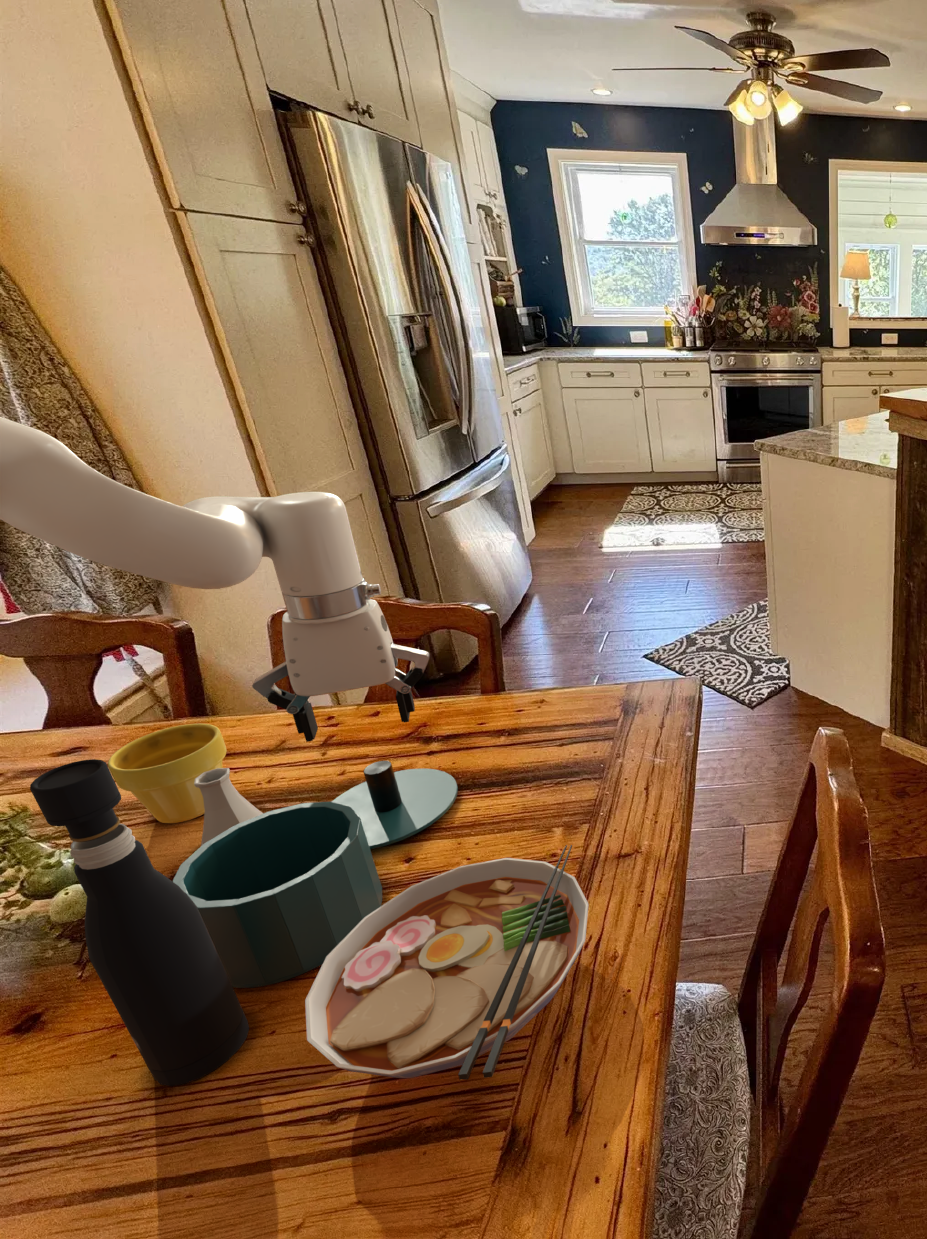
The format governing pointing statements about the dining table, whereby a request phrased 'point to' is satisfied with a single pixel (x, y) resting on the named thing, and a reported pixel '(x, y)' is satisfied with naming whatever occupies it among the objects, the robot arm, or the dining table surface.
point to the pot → (282, 889)
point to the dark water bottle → (143, 933)
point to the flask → (222, 803)
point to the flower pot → (169, 769)
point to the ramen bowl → (448, 969)
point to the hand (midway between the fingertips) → (360, 726)
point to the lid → (399, 801)
